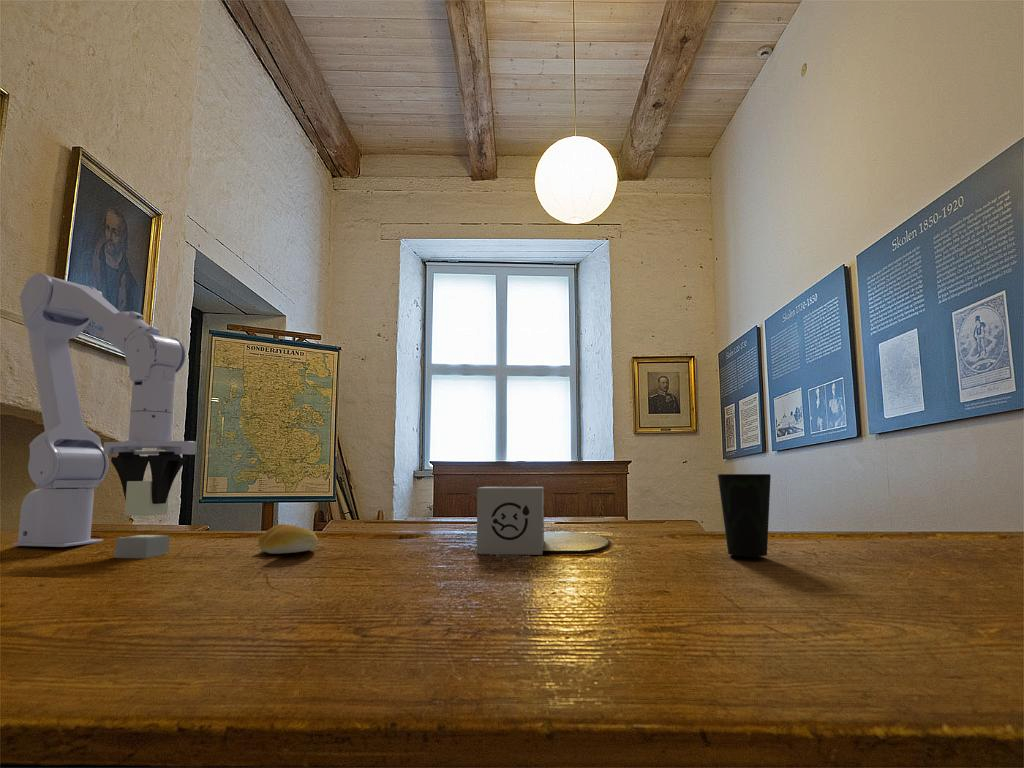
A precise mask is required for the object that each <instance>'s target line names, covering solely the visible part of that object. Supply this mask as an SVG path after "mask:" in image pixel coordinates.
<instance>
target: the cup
mask: <svg viewBox="0 0 1024 768" xmlns="http://www.w3.org/2000/svg"><path fill="white" fill-rule="evenodd" d="M771 477H772V476H771V474H770V473H766V474H765V473H759V474H758V473H745V474H744V473H736V474H735V473H725V474H724V473H719V474H717V479H718V486H719V488H718V489H719V495H720V501H721V511H722V517H723V525H724V530H725V532H724V533H725V540H726V547H727V554H728V555H731V556H737V557H739V556H740V557H766V556H767V555H768V545H769V544H768V542H769V541H768V538H769V520H770V519H769V518H770V517H769V516H770V498H771V497H770V496H771V495H770V494H771Z"/></svg>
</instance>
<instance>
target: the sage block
mask: <svg viewBox="0 0 1024 768" xmlns="http://www.w3.org/2000/svg"><path fill="white" fill-rule="evenodd" d="M168 506H169V494H168V497H167V500H166V503H163V504H153V503H152V480H143V481H127V490H126V501H125V506H124V516H133V517H134V516H135V517H137V516H139V517H142V516H144V517H149V516H150V517H151V516H162V515H163V516H164V515H165V516H166V515H168V511H169V510H168Z"/></svg>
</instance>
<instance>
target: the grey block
mask: <svg viewBox="0 0 1024 768" xmlns="http://www.w3.org/2000/svg"><path fill="white" fill-rule="evenodd" d="M169 547H170V535H161V534H157V535H156V534H140V535H137V534H136V535H131V536H123V537H117V538H115V547H114V548H115V549H114V558H115V559H150V558H156V556H157V557H160V556H159V555H161V554H163V553H166V552H168V553H169Z"/></svg>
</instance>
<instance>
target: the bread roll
mask: <svg viewBox="0 0 1024 768" xmlns="http://www.w3.org/2000/svg"><path fill="white" fill-rule="evenodd" d="M318 542H319V539H318V536H317V534H316V533H315V531H313V530H311V529H308V528H305V527H299V526H296V525H292V524H284V523H283V524H282V523H281V524H278V525H277V524H276V525H275V526H272V527H270V528H269V529H268V530H266V532H264V533H263V534H262V535H261V536H260V537H259V539H258V542H257V545H258V548H259V549H260V551H261V552H262V551H263V553H268V554H269V555H270V554H271V555H272V554H273V555H274V554H276V555H279V554H291V553H301V552H307V551H312V550H314V549H316V548H317V547H318Z"/></svg>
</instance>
